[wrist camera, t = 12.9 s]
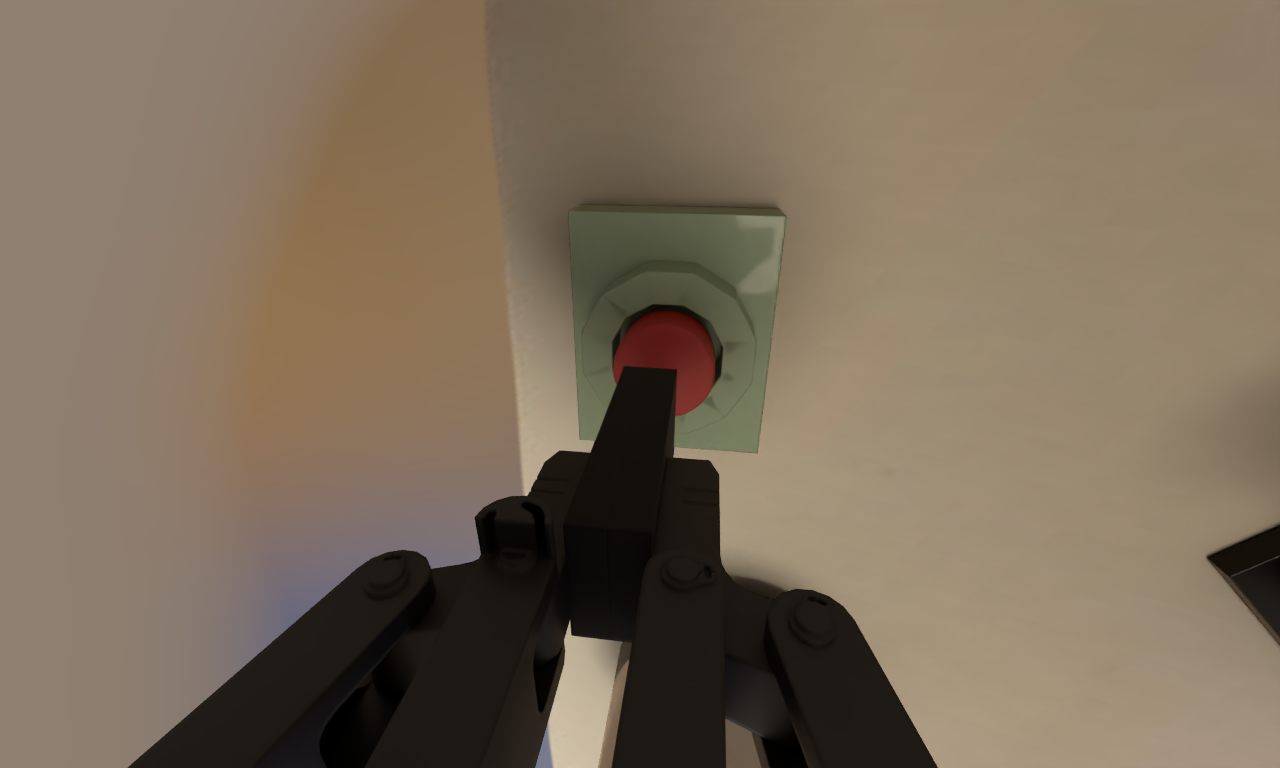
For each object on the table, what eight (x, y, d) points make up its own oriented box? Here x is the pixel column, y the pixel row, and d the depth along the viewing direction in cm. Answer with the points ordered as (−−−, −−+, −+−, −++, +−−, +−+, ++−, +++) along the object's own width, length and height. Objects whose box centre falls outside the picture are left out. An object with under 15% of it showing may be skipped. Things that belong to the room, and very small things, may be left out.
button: (620, 307, 19) (611, 321, 18) (718, 311, 19) (718, 326, 17) (621, 393, 21) (613, 414, 19) (711, 400, 20) (711, 421, 19)
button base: (581, 204, 21) (554, 216, 18) (780, 208, 20) (793, 222, 17) (590, 416, 26) (569, 462, 22) (754, 428, 25) (761, 477, 21)
